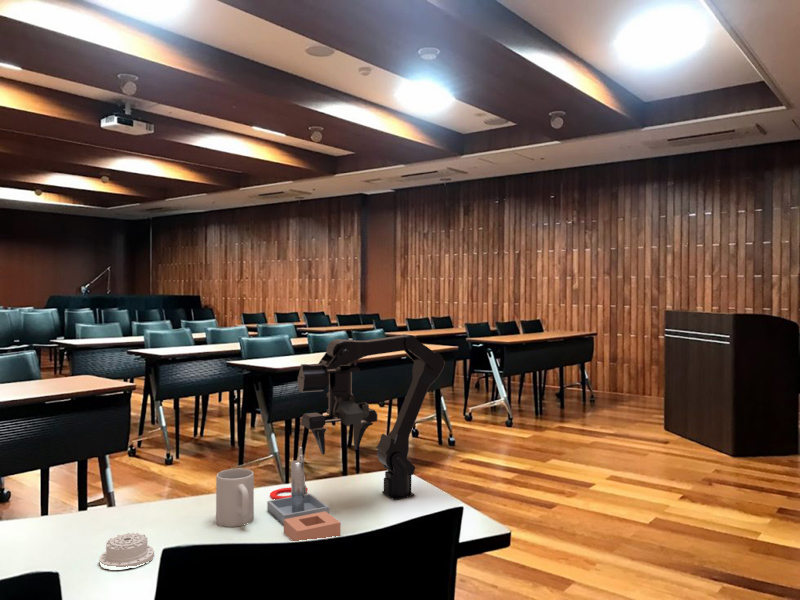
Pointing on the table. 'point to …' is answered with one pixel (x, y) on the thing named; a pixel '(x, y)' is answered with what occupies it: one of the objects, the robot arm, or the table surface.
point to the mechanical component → (127, 551)
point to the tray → (284, 507)
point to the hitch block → (311, 526)
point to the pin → (297, 485)
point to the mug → (234, 497)
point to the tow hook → (275, 492)
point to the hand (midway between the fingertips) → (339, 451)
